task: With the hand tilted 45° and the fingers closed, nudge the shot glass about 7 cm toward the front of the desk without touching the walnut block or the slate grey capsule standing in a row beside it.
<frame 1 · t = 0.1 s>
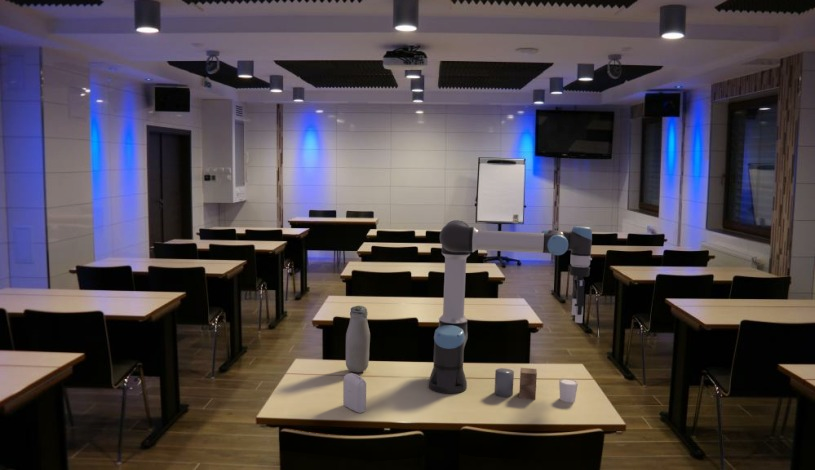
hand: (576, 318, 254), 28 cm above the table, tool pointing down, fingers open, 13 cm apart
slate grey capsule: (503, 393, 247), on the table
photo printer: (354, 408, 228), on the table
grey bottle: (357, 371, 268), on the table
walnut block: (527, 396, 245), on the table
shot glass: (567, 400, 243), on the table
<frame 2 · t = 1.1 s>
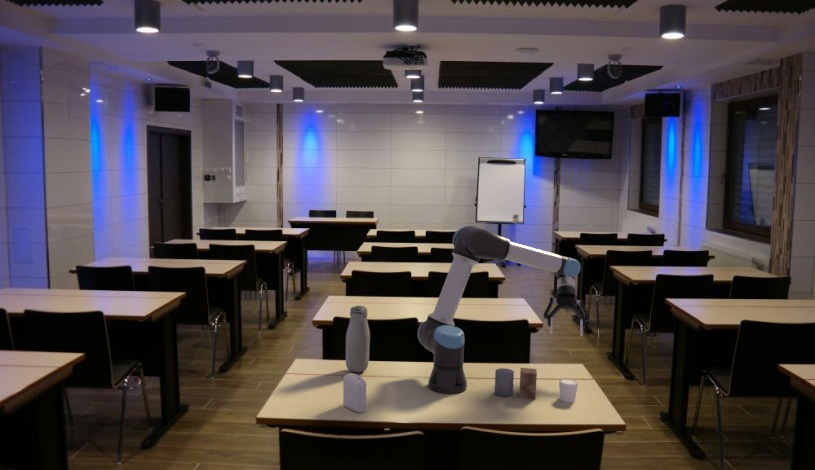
hand: (566, 333, 263), 19 cm above the table, tool tilted 45°, fingers open, 11 cm apart
nothing on the table moved.
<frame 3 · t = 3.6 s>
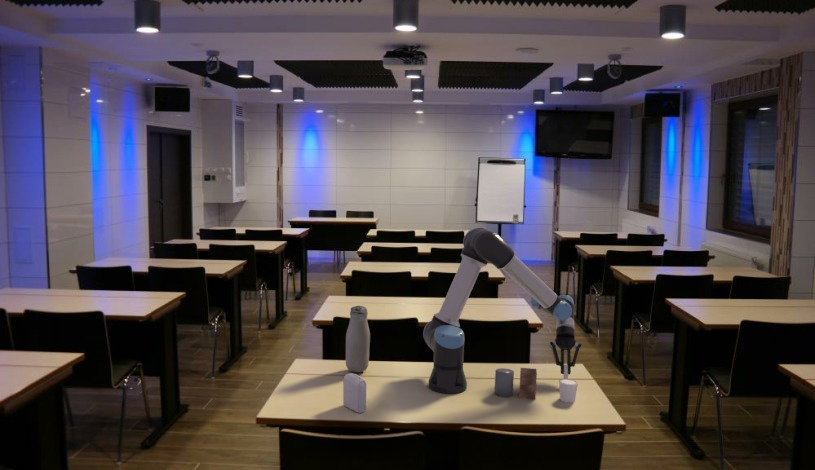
hand: (565, 381, 254), 3 cm above the table, tool tilted 45°, fingers closed
nothing on the table moved.
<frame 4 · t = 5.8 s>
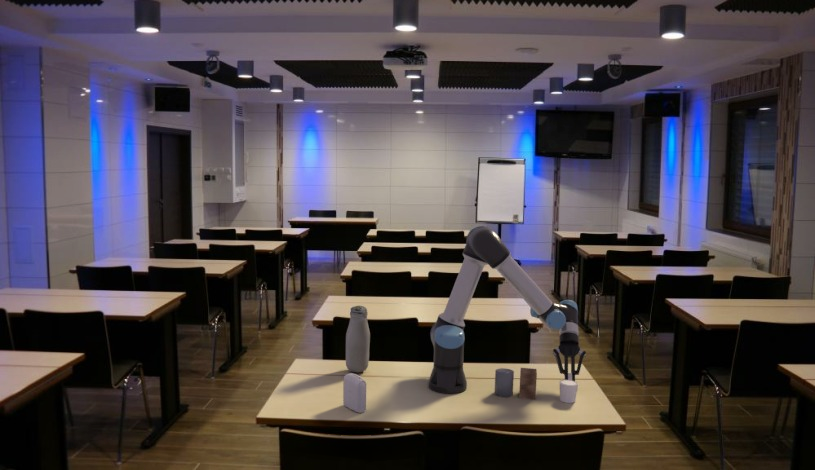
hand: (570, 390, 245), 3 cm above the table, tool tilted 45°, fingers closed
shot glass: (567, 400, 242), on the table, touching gripper
everything else where it was.
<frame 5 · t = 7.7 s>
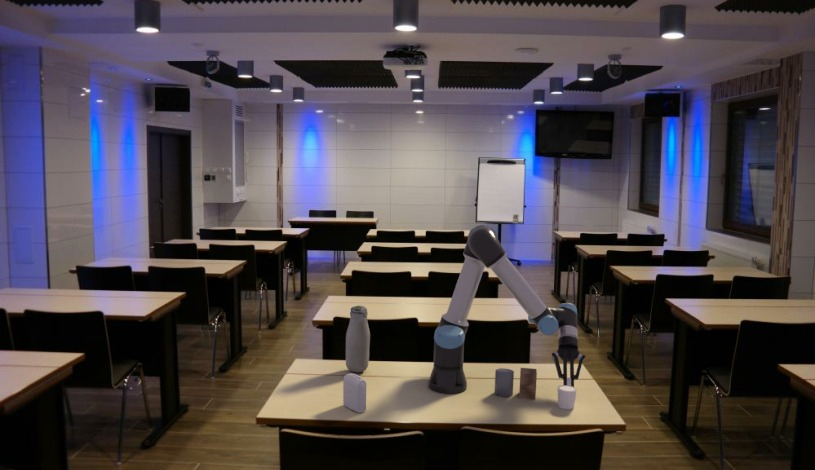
hand: (568, 395, 239), 3 cm above the table, tool tilted 45°, fingers closed
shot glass: (566, 406, 236), on the table, touching gripper
everything else where it was.
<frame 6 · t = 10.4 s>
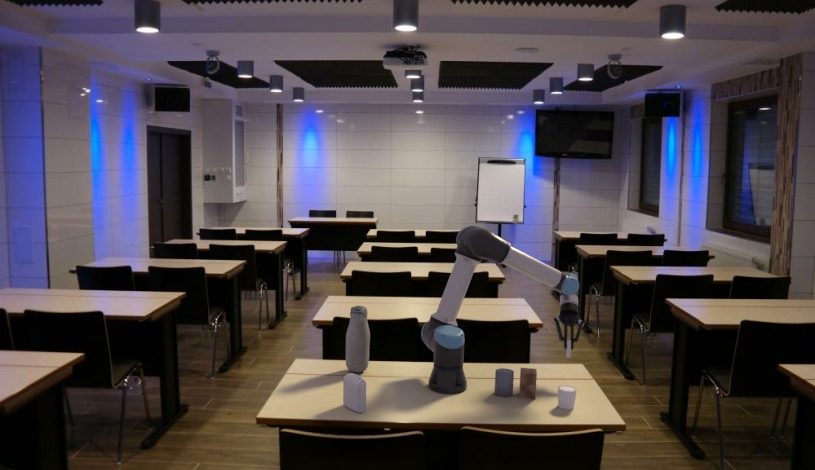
hand: (568, 356, 257), 12 cm above the table, tool tilted 45°, fingers closed
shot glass: (566, 407, 236), on the table
everything else where it was.
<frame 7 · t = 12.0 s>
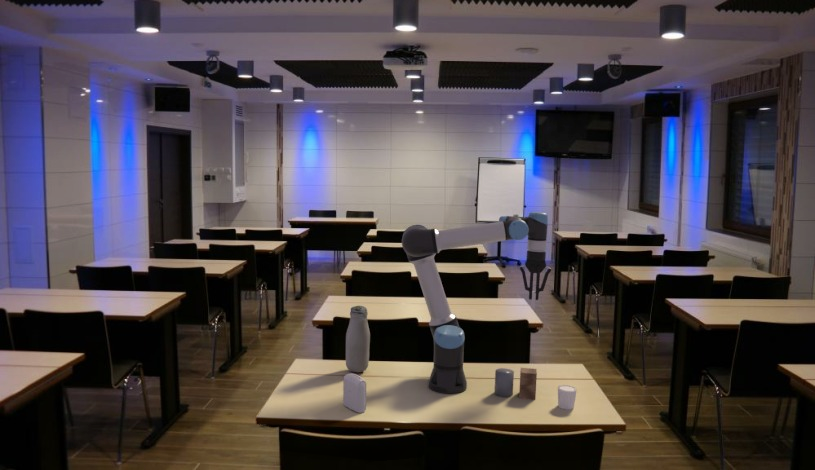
hand: (533, 307, 262), 30 cm above the table, tool pointing down, fingers closed
nothing on the table moved.
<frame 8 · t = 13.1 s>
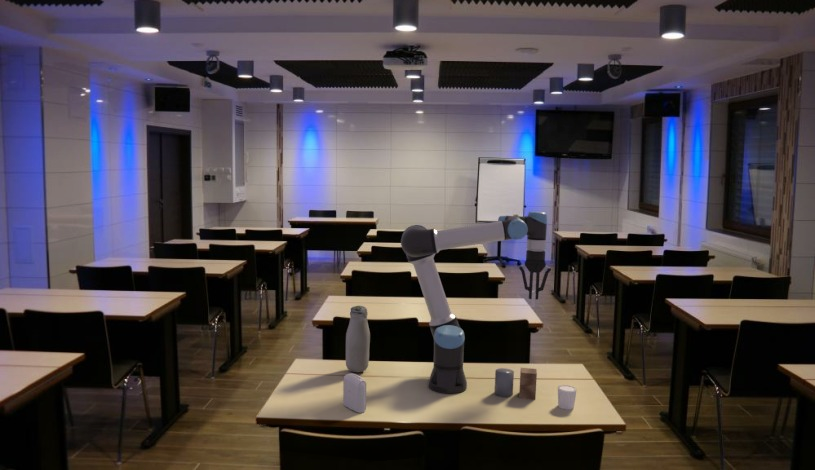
hand: (533, 306, 261), 30 cm above the table, tool pointing down, fingers closed
nothing on the table moved.
at the end: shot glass moved 7.6 cm from its start; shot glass tilted 0°; walnut block moved 0.1 cm from its start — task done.
